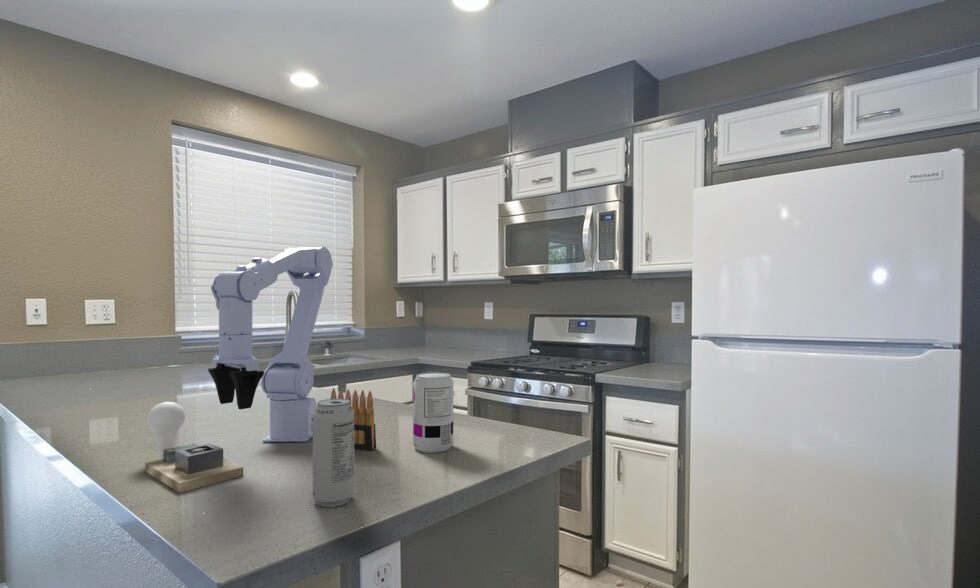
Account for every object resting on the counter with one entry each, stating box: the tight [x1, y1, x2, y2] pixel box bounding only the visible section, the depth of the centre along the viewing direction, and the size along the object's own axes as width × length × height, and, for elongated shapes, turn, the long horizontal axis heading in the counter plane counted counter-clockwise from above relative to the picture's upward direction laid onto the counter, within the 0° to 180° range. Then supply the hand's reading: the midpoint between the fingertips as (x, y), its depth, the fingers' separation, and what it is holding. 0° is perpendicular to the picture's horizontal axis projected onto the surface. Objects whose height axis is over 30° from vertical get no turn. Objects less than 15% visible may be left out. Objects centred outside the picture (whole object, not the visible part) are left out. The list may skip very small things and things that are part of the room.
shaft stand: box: [144, 443, 244, 494], centre depth 89 cm, size 16×10×4 cm, turn 51°
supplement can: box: [412, 372, 454, 454], centre depth 104 cm, size 8×8×15 cm
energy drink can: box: [312, 398, 355, 508], centre depth 77 cm, size 6×6×15 cm
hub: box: [175, 442, 224, 475], centre depth 88 cm, size 6×6×3 cm
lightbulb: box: [146, 401, 186, 459], centre depth 97 cm, size 6×6×11 cm
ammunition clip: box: [330, 388, 377, 452], centre depth 105 cm, size 11×2×12 cm, turn 71°
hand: (235, 405), depth 96 cm, fingers open, 7 cm apart
